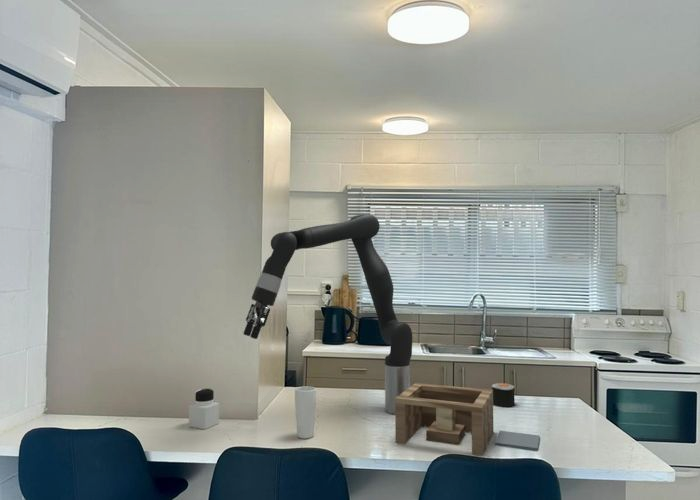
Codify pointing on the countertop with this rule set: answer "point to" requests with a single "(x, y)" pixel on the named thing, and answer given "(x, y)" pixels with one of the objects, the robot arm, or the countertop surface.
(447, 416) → the maple block
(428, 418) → the frame
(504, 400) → the sushi
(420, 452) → the countertop surface
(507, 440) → the grey mat
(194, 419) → the medicine bottle
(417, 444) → the countertop surface
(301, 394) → the drinking glass
